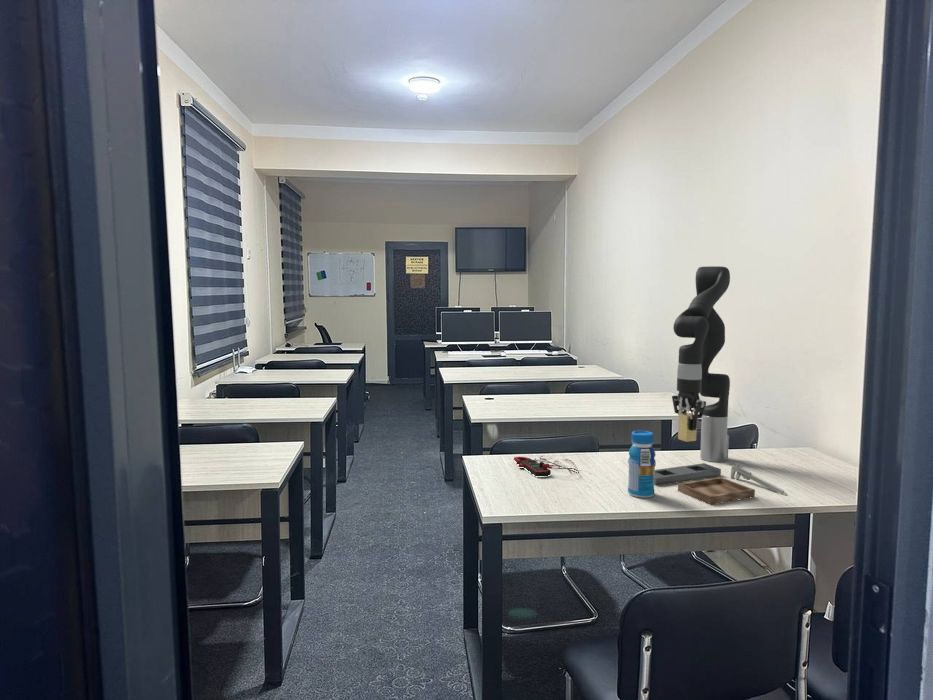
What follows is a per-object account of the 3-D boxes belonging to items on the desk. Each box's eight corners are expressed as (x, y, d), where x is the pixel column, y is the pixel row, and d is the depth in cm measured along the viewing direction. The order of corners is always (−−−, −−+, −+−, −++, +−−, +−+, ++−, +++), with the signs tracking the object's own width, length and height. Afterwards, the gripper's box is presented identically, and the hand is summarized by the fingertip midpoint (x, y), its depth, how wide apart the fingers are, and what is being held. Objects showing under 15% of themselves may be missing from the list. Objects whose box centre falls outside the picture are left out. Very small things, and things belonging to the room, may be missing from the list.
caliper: (730, 479, 208) (731, 461, 208) (732, 478, 209) (733, 460, 208) (785, 496, 190) (786, 477, 190) (787, 495, 191) (788, 476, 190)
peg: (687, 438, 201) (688, 412, 200) (696, 440, 197) (697, 415, 196) (677, 439, 199) (678, 413, 199) (686, 441, 196) (687, 416, 195)
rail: (703, 469, 218) (704, 463, 218) (720, 476, 210) (720, 469, 210) (640, 478, 208) (640, 471, 207) (655, 485, 200) (656, 478, 200)
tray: (720, 484, 201) (720, 477, 201) (754, 497, 188) (754, 489, 188) (677, 490, 195) (678, 483, 195) (710, 505, 182) (710, 496, 182)
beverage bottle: (622, 494, 191) (624, 433, 189) (634, 488, 198) (635, 428, 196) (648, 500, 186) (649, 437, 184) (659, 493, 192) (660, 432, 190)
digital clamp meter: (536, 470, 205) (509, 451, 228) (536, 483, 205) (509, 463, 229) (597, 463, 212) (564, 446, 236) (597, 476, 212) (564, 457, 236)
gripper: (714, 379, 191) (712, 432, 192) (683, 374, 204) (682, 423, 206) (695, 380, 188) (693, 434, 190) (665, 375, 202) (664, 425, 203)
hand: (687, 428), depth 198 cm, fingers closed on peg, 4 cm apart
